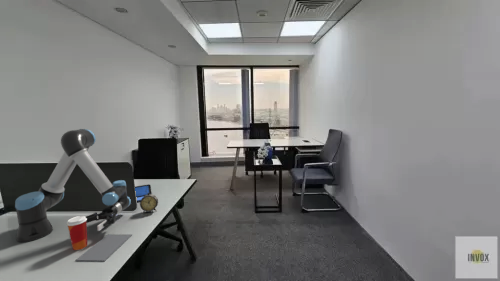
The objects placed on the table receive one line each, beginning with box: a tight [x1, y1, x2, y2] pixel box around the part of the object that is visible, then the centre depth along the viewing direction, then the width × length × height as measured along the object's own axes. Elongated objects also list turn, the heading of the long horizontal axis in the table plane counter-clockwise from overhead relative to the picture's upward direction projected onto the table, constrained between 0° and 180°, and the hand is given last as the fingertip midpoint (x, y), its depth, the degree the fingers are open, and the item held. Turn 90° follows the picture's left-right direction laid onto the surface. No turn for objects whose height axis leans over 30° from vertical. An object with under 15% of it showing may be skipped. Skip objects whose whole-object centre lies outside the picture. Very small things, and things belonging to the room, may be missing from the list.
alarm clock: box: [139, 189, 159, 213], centre depth 154 cm, size 11×5×16 cm, turn 98°
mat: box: [75, 233, 133, 262], centre depth 115 cm, size 14×22×1 cm, turn 177°
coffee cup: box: [66, 215, 88, 251], centre depth 115 cm, size 8×8×15 cm
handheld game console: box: [134, 184, 153, 203], centre depth 178 cm, size 16×13×9 cm
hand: (85, 228), depth 118 cm, fingers open, 13 cm apart
